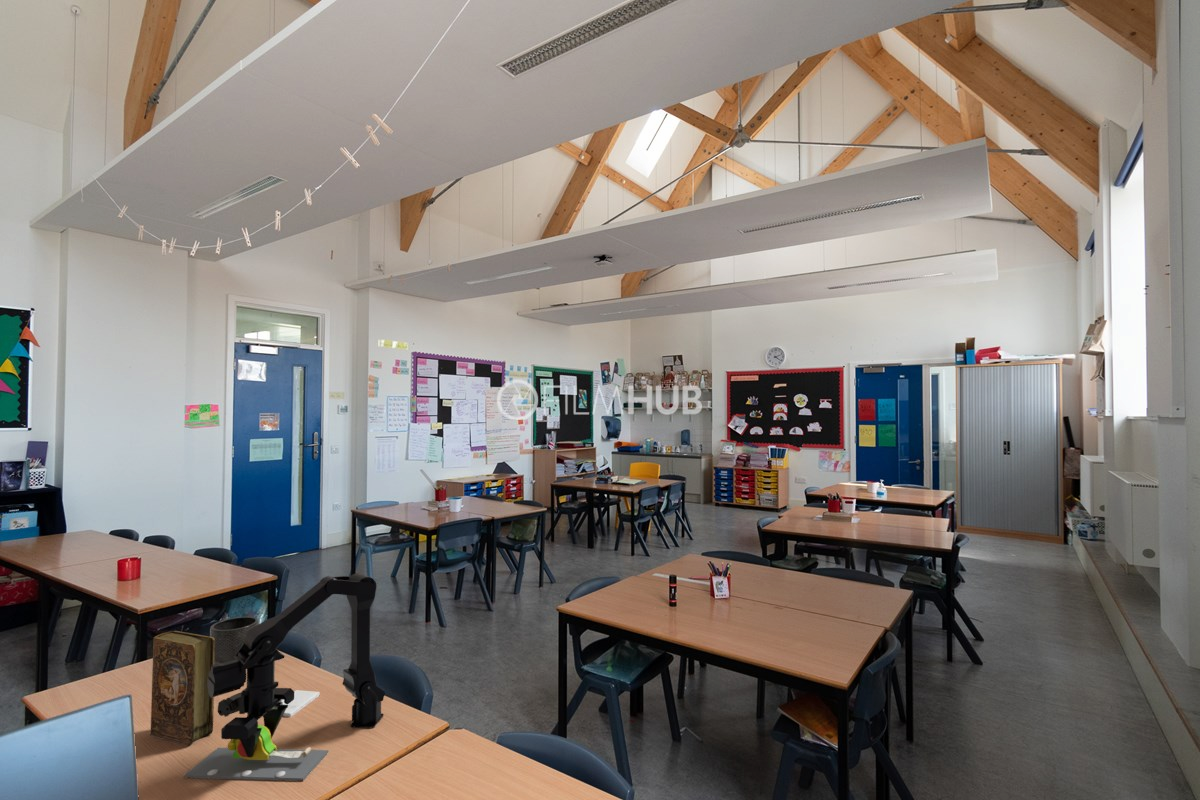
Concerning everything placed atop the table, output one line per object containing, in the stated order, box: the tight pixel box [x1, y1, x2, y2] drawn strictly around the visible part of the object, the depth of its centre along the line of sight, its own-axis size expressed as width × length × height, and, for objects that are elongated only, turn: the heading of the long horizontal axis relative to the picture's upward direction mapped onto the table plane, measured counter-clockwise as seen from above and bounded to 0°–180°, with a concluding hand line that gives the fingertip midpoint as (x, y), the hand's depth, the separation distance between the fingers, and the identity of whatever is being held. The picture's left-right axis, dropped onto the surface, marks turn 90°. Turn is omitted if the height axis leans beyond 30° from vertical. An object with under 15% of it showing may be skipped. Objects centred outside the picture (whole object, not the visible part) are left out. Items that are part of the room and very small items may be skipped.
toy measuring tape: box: [227, 724, 312, 760], centre depth 134 cm, size 6×19×7 cm, turn 88°
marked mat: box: [183, 747, 329, 782], centre depth 134 cm, size 28×11×1 cm, turn 87°
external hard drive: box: [281, 689, 320, 718], centre depth 163 cm, size 2×8×12 cm
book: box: [150, 630, 216, 746], centre depth 147 cm, size 16×6×25 cm, turn 71°
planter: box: [209, 616, 260, 664], centre depth 192 cm, size 14×14×13 cm
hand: (259, 748), depth 134 cm, fingers closed on toy measuring tape, 6 cm apart
